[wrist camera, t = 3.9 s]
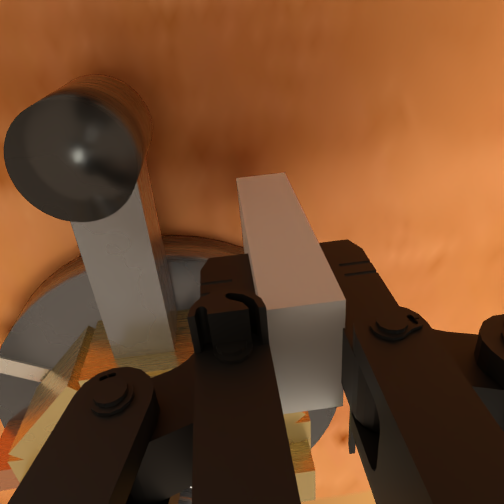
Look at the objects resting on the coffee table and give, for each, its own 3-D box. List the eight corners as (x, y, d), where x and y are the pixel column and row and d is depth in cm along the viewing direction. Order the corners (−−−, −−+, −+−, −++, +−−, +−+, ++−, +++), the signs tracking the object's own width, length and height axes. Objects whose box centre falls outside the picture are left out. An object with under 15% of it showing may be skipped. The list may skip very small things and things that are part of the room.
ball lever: (-108, 92, 12) (-245, 133, 8) (284, 55, 12) (317, 77, 9) (84, 498, 22) (60, 598, 18) (299, 468, 22) (318, 560, 18)
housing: (-46, 258, 17) (-202, 420, 10) (332, 215, 18) (409, 342, 11) (66, 484, 25) (17, 660, 18) (328, 448, 25) (372, 605, 19)
